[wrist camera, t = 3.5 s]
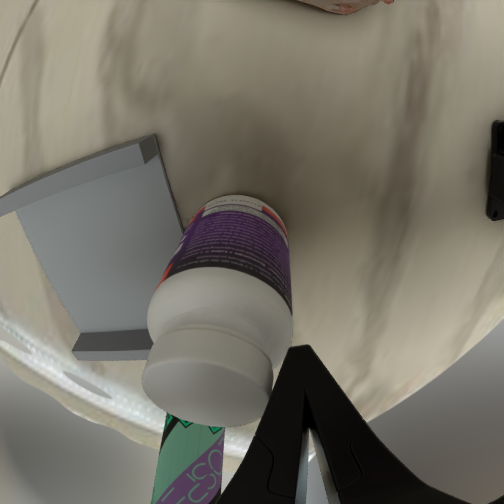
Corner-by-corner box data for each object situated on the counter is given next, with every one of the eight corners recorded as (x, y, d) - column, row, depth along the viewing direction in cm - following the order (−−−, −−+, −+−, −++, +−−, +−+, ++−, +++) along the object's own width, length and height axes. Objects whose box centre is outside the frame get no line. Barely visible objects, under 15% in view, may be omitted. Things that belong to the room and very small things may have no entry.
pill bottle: (181, 195, 15) (90, 333, 7) (287, 189, 15) (300, 342, 7) (197, 280, 18) (150, 428, 10) (288, 279, 18) (292, 438, 10)
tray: (154, 133, 14) (138, 142, 12) (218, 329, 20) (215, 355, 18) (10, 190, 15) (-11, 204, 13) (88, 339, 21) (78, 360, 19)
